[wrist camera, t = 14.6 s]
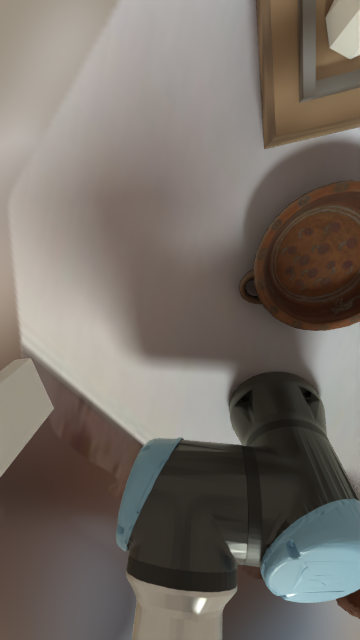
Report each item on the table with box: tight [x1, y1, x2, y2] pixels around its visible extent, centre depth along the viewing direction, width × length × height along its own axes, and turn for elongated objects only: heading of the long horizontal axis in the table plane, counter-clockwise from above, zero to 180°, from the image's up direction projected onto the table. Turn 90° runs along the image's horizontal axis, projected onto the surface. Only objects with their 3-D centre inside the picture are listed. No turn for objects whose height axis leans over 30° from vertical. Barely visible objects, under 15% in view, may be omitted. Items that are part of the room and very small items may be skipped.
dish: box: [239, 181, 360, 331], centre depth 33 cm, size 17×22×5 cm
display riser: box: [256, 0, 360, 149], centre depth 24 cm, size 14×14×7 cm
